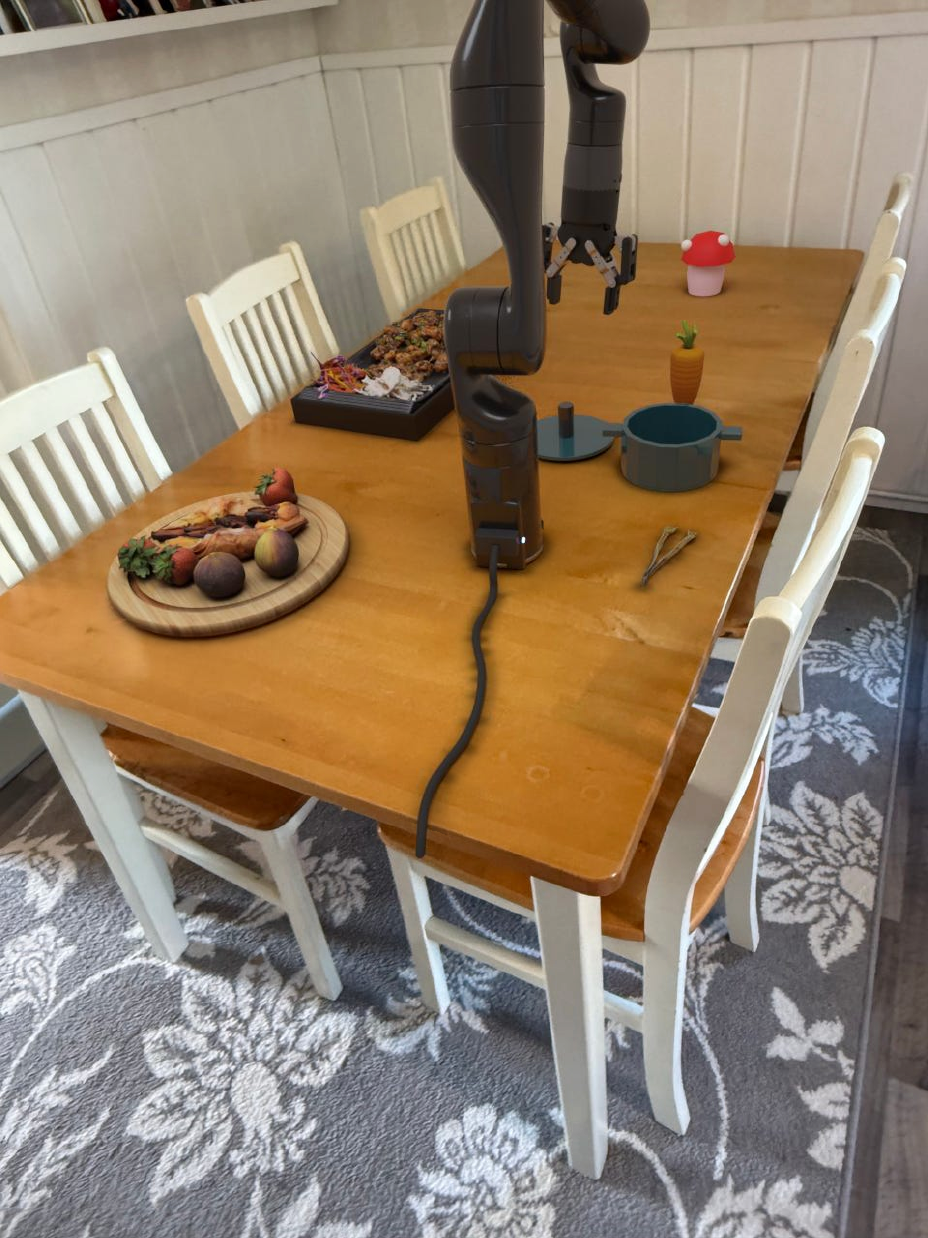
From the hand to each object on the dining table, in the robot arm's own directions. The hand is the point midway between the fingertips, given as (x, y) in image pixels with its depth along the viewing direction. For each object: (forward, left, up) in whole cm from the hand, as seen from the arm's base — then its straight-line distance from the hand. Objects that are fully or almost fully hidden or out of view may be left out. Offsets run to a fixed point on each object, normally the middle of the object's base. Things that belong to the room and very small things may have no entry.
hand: (581, 308), depth 121 cm
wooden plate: (-40, +41, -20) cm, 61 cm away
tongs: (-32, -15, -20) cm, 41 cm away
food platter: (+22, +33, -20) cm, 45 cm away
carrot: (+8, -15, -20) cm, 26 cm away
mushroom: (+68, -16, -20) cm, 73 cm away
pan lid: (-2, +2, -20) cm, 20 cm away
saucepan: (-9, -14, -20) cm, 26 cm away
